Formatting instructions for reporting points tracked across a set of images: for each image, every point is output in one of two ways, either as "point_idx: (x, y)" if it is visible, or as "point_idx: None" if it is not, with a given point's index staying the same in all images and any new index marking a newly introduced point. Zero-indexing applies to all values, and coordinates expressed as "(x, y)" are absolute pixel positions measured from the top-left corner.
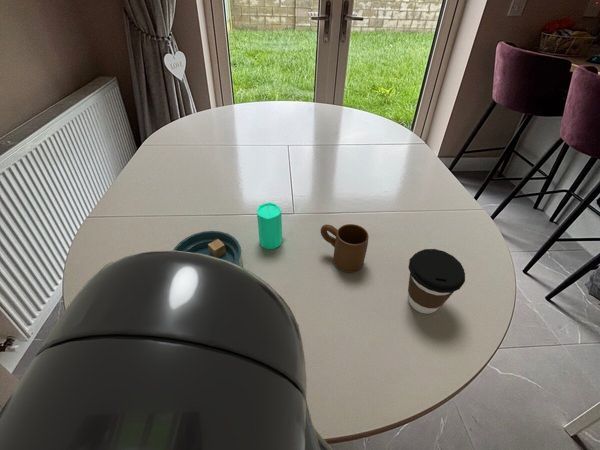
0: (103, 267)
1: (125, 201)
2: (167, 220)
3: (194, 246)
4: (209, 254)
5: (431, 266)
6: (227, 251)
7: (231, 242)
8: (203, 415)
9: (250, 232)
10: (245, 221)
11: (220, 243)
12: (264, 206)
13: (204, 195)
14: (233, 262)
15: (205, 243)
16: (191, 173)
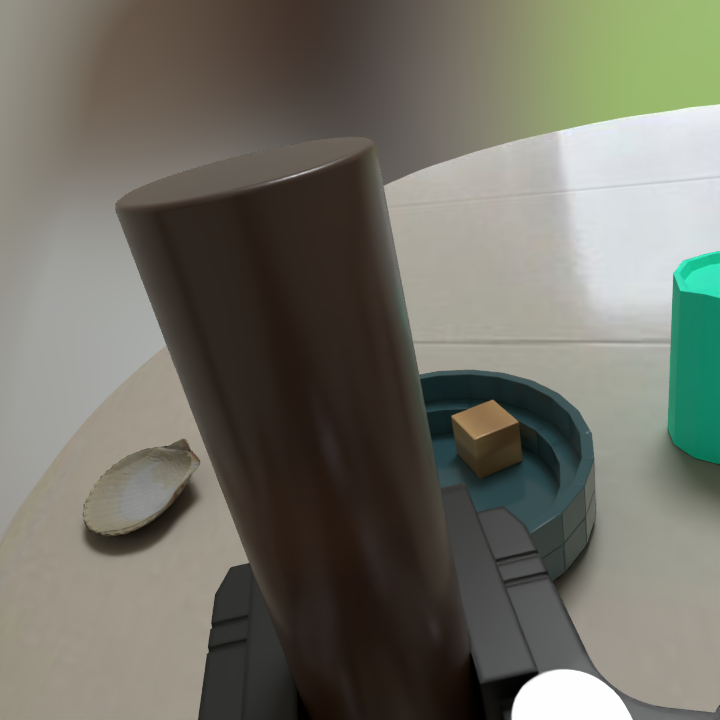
0: (117, 463)
1: None
2: None
3: None
4: (455, 459)
5: None
6: (527, 455)
7: (547, 418)
8: None
9: (623, 397)
10: (600, 362)
11: (501, 416)
12: (708, 265)
13: (462, 294)
14: (552, 501)
15: (444, 417)
16: (433, 250)
